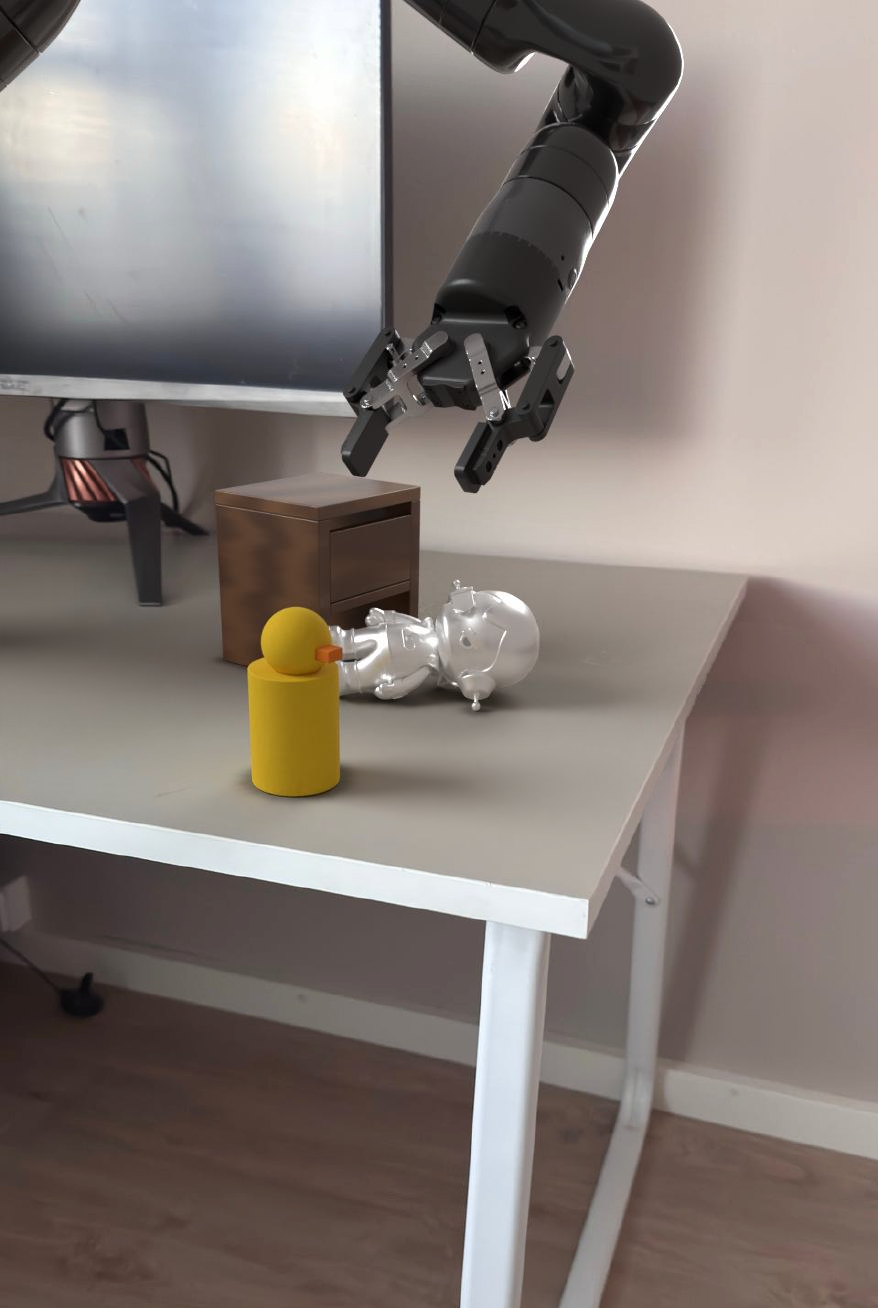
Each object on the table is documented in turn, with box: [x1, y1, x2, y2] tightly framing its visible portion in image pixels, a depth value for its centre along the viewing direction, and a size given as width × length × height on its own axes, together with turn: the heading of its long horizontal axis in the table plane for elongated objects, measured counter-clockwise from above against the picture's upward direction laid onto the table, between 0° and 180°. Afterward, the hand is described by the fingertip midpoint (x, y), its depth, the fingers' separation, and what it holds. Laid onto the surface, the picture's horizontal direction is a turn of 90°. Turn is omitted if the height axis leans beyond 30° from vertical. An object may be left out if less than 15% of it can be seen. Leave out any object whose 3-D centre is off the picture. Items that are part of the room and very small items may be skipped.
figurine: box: [328, 579, 541, 712], centre depth 84 cm, size 11×7×15 cm
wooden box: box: [214, 471, 422, 667], centre depth 90 cm, size 10×12×13 cm
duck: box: [246, 607, 343, 797], centre depth 68 cm, size 6×5×10 cm
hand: (406, 476), depth 71 cm, fingers open, 8 cm apart
